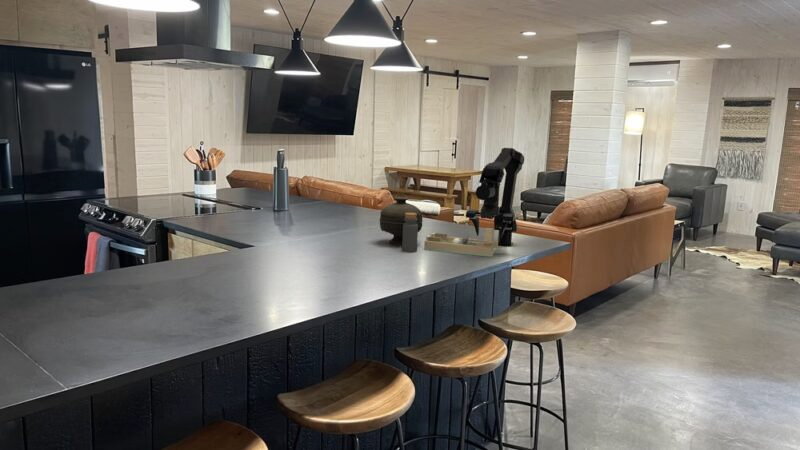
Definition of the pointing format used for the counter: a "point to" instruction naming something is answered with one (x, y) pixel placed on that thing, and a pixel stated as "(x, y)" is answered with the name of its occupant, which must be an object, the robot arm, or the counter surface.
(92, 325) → the counter surface
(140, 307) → the counter surface
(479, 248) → the pitch
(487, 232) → the tan and grey block
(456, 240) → the ball
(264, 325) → the counter surface
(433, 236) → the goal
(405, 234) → the bottle
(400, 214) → the pot
